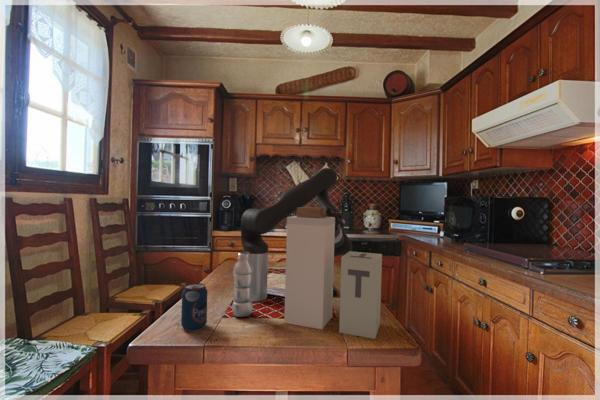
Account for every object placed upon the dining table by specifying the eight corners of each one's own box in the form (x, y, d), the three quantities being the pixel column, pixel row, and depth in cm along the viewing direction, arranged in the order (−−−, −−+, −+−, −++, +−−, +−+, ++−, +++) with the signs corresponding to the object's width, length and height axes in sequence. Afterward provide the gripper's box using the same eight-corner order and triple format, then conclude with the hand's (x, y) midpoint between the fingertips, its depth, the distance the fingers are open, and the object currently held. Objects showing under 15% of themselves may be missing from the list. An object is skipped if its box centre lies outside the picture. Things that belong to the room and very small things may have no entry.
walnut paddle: (315, 214, 115) (315, 206, 115) (334, 215, 112) (334, 207, 112) (296, 217, 98) (296, 207, 98) (318, 218, 96) (319, 208, 96)
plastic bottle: (235, 321, 98) (236, 255, 98) (229, 313, 104) (230, 251, 104) (255, 317, 101) (257, 254, 101) (248, 310, 107) (250, 250, 107)
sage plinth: (347, 319, 102) (349, 251, 102) (379, 324, 99) (382, 253, 98) (339, 332, 92) (341, 256, 92) (375, 339, 88) (377, 260, 88)
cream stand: (297, 311, 108) (300, 215, 108) (332, 316, 104) (335, 217, 104) (284, 322, 98) (287, 217, 98) (322, 329, 94) (325, 219, 93)
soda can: (197, 334, 88) (198, 290, 88) (175, 330, 90) (176, 287, 90) (211, 324, 95) (212, 283, 95) (191, 321, 97) (192, 281, 97)
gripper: (314, 220, 127) (302, 198, 113) (350, 222, 122) (342, 199, 108) (311, 238, 123) (298, 217, 109) (348, 240, 118) (339, 219, 104)
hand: (320, 208), depth 109 cm, fingers open, 4 cm apart
